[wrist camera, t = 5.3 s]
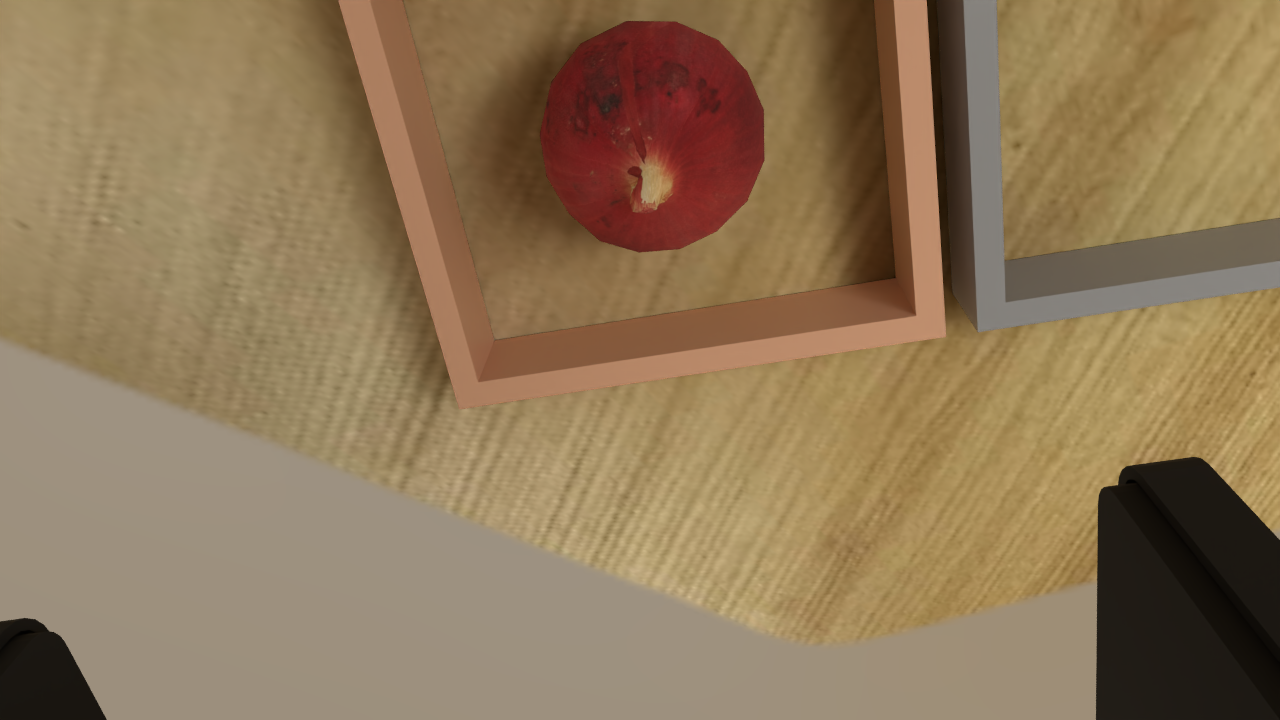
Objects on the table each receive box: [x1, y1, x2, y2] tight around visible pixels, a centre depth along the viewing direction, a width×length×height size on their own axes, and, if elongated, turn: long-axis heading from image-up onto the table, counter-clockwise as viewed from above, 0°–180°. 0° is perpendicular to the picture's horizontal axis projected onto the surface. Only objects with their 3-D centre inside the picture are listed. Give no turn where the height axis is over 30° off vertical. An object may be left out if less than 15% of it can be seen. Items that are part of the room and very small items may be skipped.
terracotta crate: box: [338, 0, 946, 409], centre depth 28 cm, size 15×15×3 cm
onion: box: [540, 21, 764, 252], centre depth 26 cm, size 6×6×8 cm
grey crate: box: [936, 0, 1280, 332], centre depth 26 cm, size 15×15×3 cm
